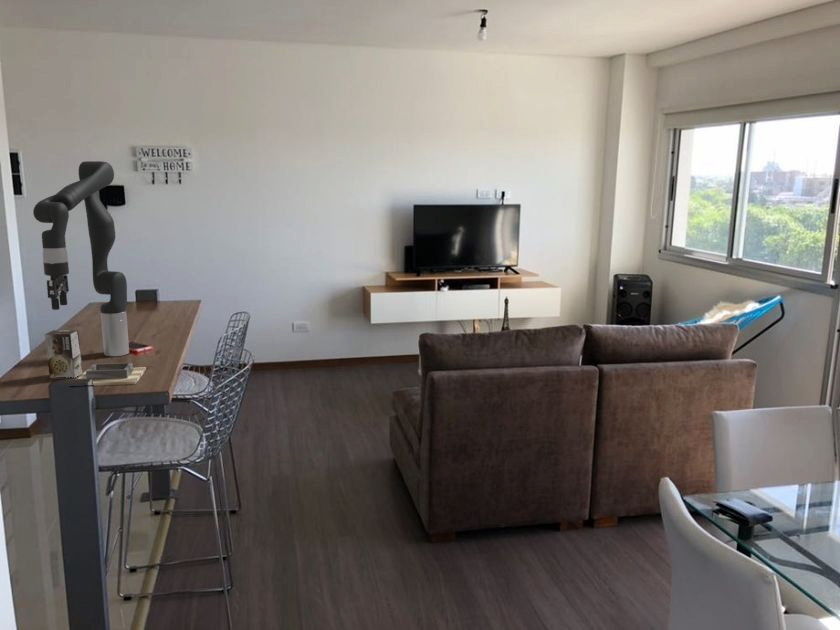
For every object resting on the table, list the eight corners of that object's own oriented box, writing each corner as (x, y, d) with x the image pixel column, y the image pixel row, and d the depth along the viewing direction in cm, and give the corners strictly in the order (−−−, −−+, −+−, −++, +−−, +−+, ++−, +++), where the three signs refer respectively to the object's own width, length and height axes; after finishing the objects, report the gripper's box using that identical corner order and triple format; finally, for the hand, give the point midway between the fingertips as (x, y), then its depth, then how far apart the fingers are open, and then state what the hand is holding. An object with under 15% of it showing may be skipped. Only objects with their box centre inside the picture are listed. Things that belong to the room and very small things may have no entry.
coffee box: (83, 373, 241) (79, 329, 238) (74, 378, 235) (70, 333, 232) (57, 373, 241) (53, 329, 238) (48, 378, 234) (44, 333, 231)
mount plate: (87, 372, 243) (86, 361, 242) (146, 369, 247) (145, 359, 246) (72, 386, 225) (71, 375, 225) (135, 384, 229) (134, 372, 229)
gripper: (50, 258, 236) (54, 304, 239) (36, 263, 222) (41, 311, 225) (73, 258, 237) (77, 303, 241) (60, 263, 224) (65, 310, 227)
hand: (59, 307), depth 233 cm, fingers open, 8 cm apart
